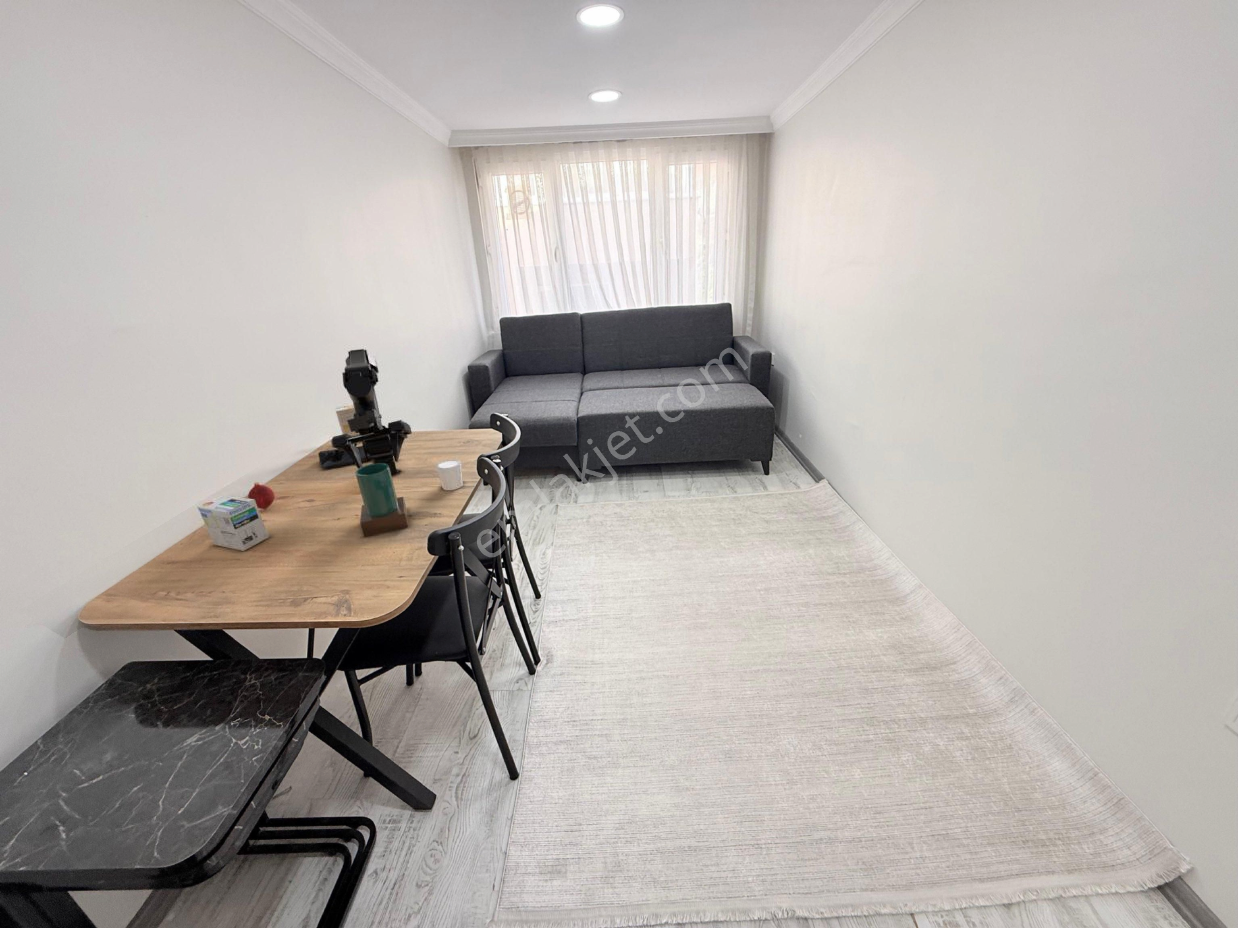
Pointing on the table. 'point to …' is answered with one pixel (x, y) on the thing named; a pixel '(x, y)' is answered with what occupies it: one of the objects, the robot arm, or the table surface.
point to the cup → (377, 489)
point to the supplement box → (345, 418)
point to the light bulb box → (233, 522)
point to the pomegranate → (261, 495)
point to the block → (384, 520)
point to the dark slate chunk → (338, 458)
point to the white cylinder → (450, 474)
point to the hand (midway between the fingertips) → (378, 466)
